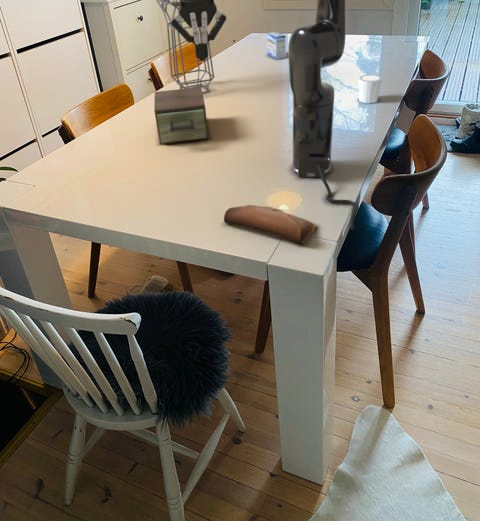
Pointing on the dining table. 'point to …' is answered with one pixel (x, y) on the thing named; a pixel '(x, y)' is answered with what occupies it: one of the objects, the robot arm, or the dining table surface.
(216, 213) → the dining table surface
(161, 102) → the cabinet
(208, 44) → the geometric lantern
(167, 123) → the drawer
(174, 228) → the dining table surface
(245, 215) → the sunglasses case
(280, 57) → the medicine box
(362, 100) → the white short cylinder
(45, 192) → the dining table surface
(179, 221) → the dining table surface
